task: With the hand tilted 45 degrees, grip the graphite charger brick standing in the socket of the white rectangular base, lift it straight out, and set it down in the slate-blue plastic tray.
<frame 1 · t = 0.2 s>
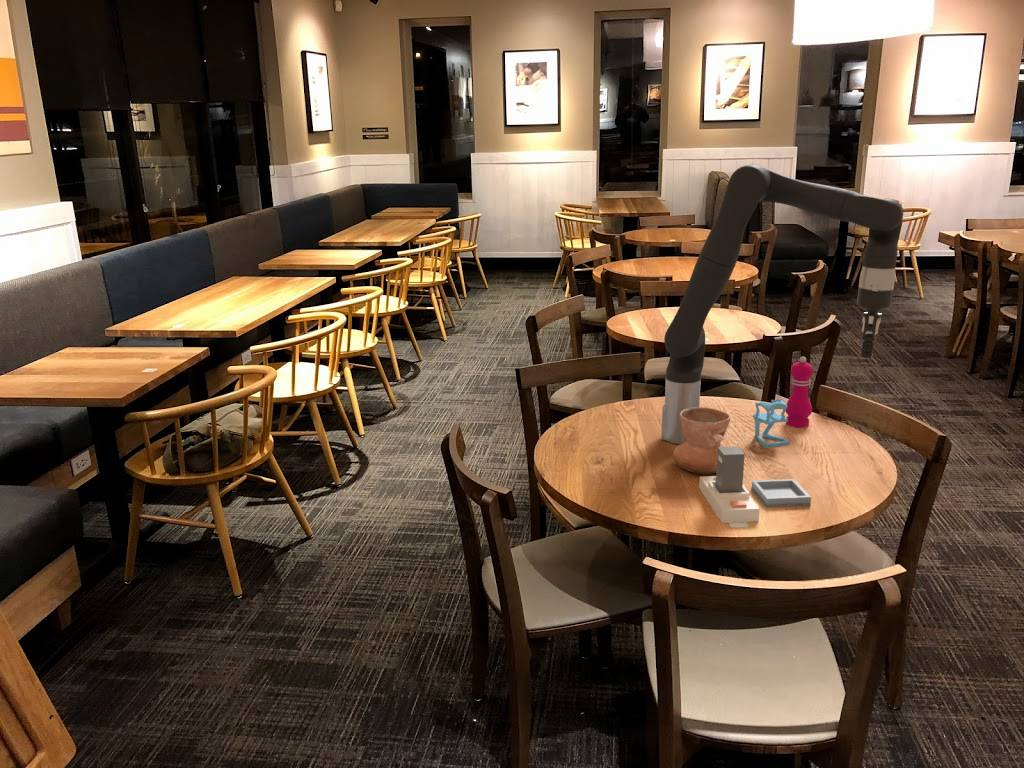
hand: (867, 353, 195), 29 cm above the table, tool pointing down, fingers open, 8 cm apart
white rectangular base: (727, 504, 184), on the table
pepper mill: (797, 424, 233), on the table
ceramic jug: (700, 467, 205), on the table
chair: (768, 441, 221), on the table
tray: (780, 496, 187), on the table
charger: (728, 491, 183), point 3 cm above the table, touching white rectangular base
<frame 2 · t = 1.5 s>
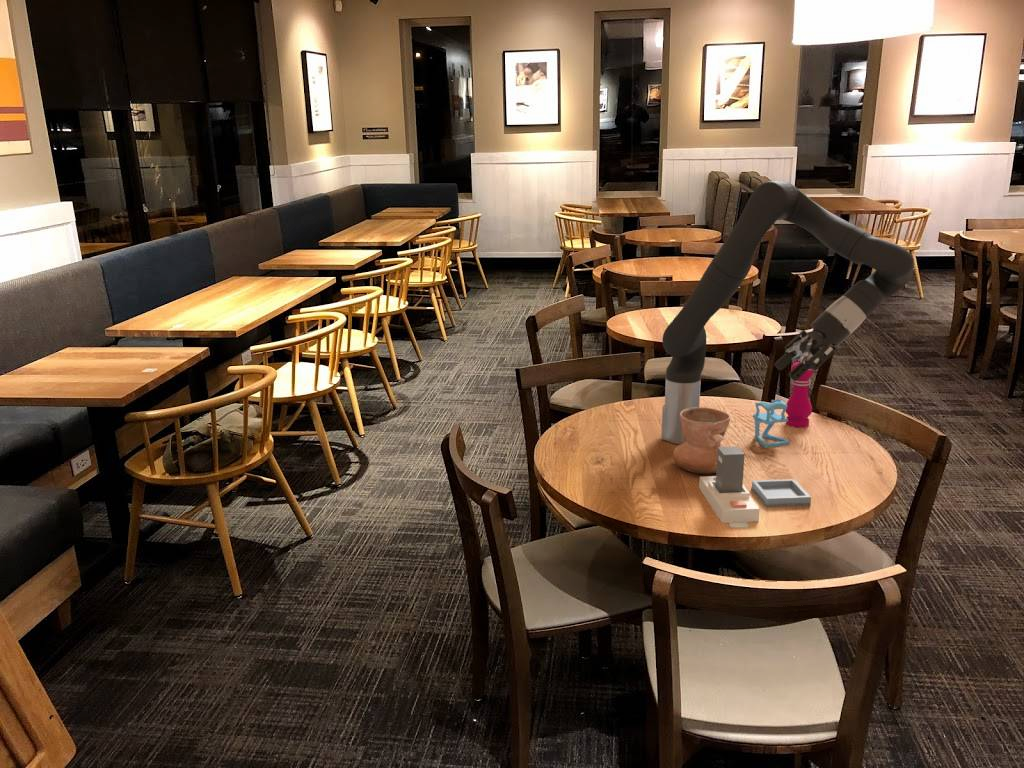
hand: (784, 372, 183), 28 cm above the table, tool tilted 45°, fingers open, 8 cm apart
nothing on the table moved.
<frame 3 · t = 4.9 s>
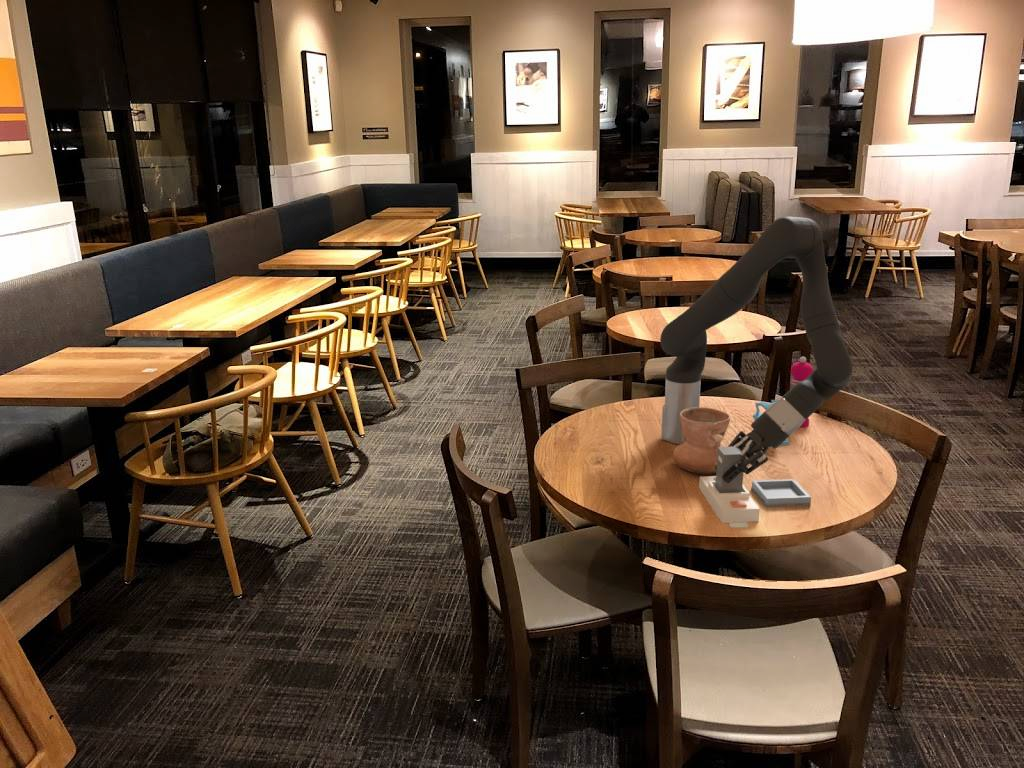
hand: (721, 475, 182), 7 cm above the table, tool tilted 45°, fingers closed on charger, 4 cm apart
charger: (728, 491, 183), point 3 cm above the table, touching gripper, white rectangular base
everything else where it was.
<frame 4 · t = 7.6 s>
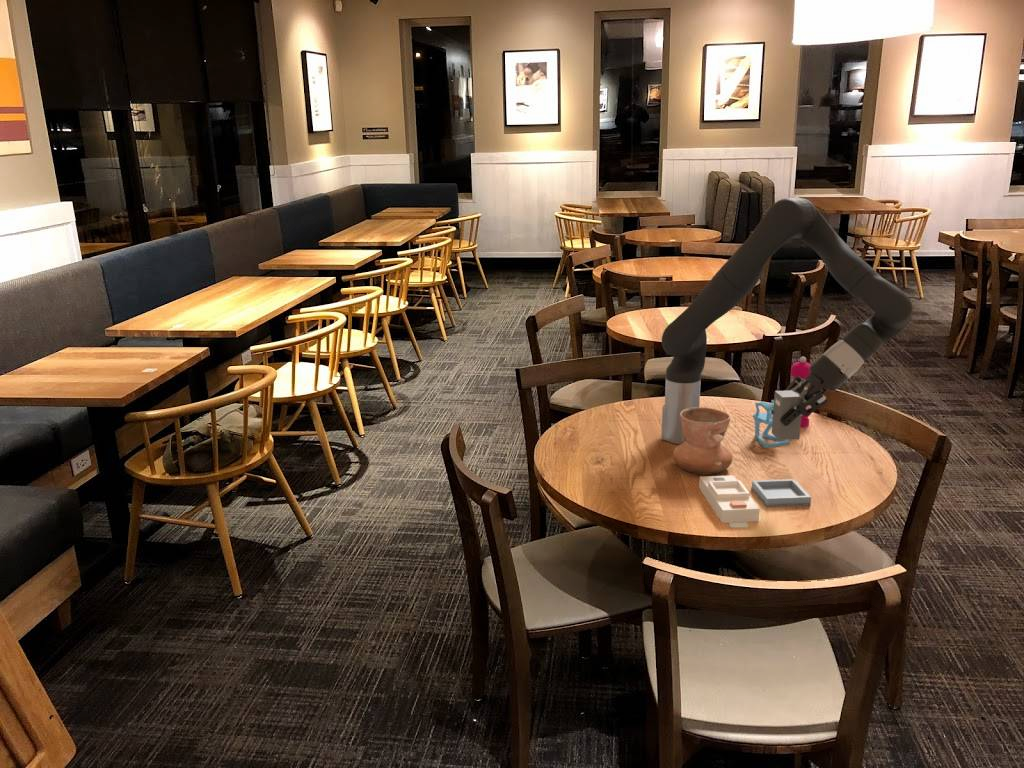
hand: (778, 419, 182), 19 cm above the table, tool tilted 45°, fingers closed on charger, 4 cm apart
charger: (785, 436, 183), point 15 cm above the table, touching gripper
everything else where it was.
when the fingers open (6 cm above the table, at t = 10.3 s): charger drops 1 cm, resting on tray.
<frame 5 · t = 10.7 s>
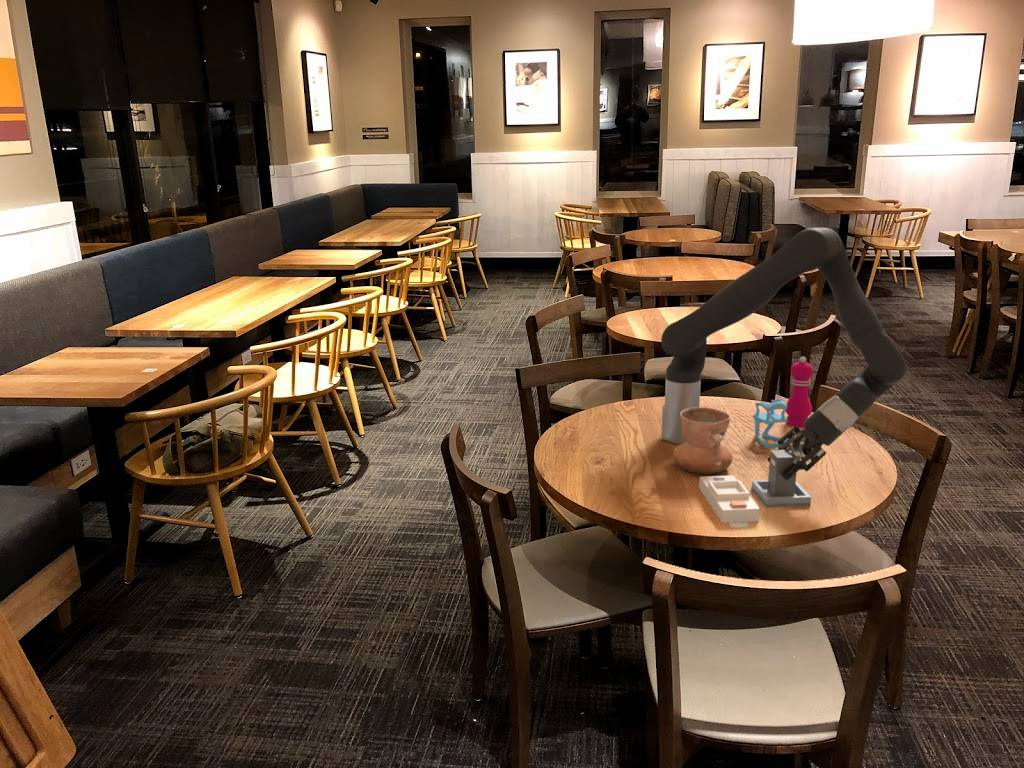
hand: (776, 469, 185), 7 cm above the table, tool tilted 45°, fingers open, 8 cm apart
charger: (780, 494, 187), point 1 cm above the table, touching tray
everything else where it was.
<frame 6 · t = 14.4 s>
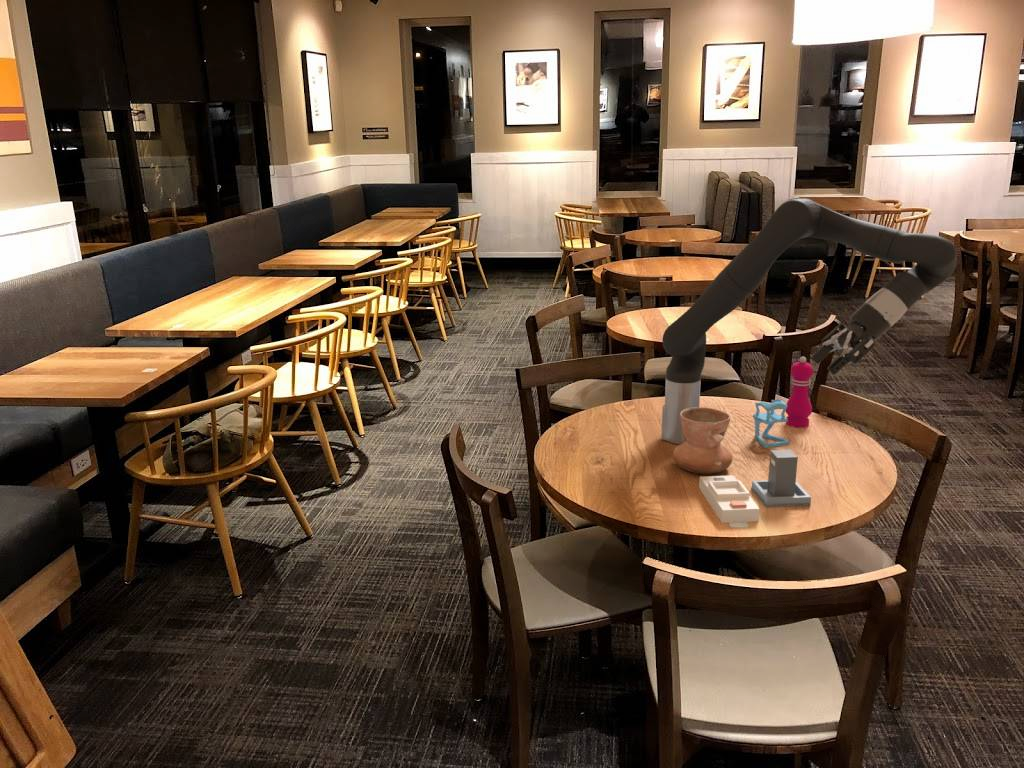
hand: (821, 366, 180), 31 cm above the table, tool tilted 45°, fingers open, 8 cm apart
nothing on the table moved.
at the end: charger inside the target area on the tray (0.1 cm from its centre), point 0.6 cm above the tray's base; charger tilted 0°; the gripper is holding nothing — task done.
